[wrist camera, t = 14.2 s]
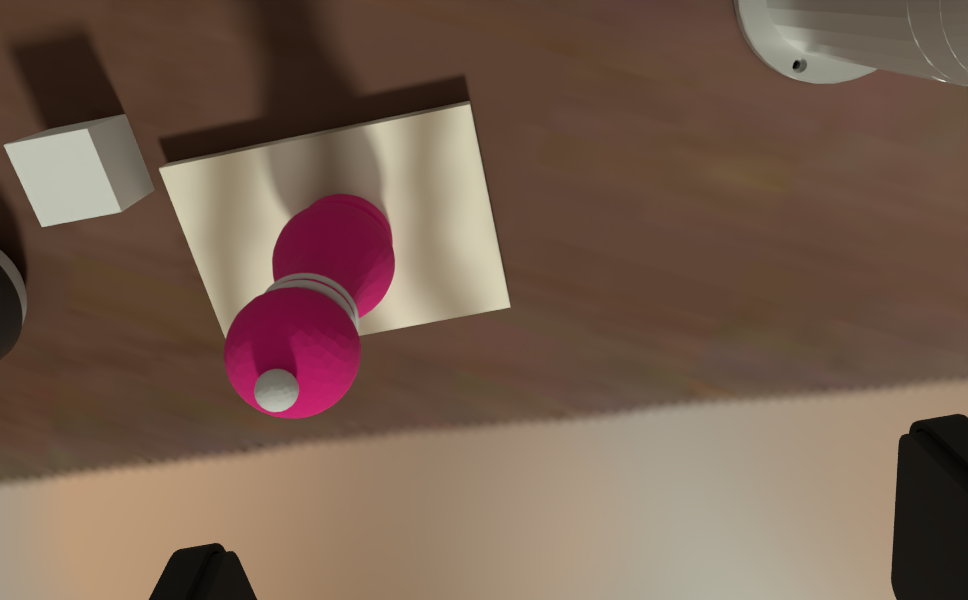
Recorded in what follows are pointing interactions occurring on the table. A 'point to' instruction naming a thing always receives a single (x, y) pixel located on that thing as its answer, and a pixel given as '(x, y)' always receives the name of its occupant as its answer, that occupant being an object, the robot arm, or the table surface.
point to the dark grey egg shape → (10, 304)
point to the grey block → (81, 170)
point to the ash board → (364, 173)
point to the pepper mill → (312, 309)
